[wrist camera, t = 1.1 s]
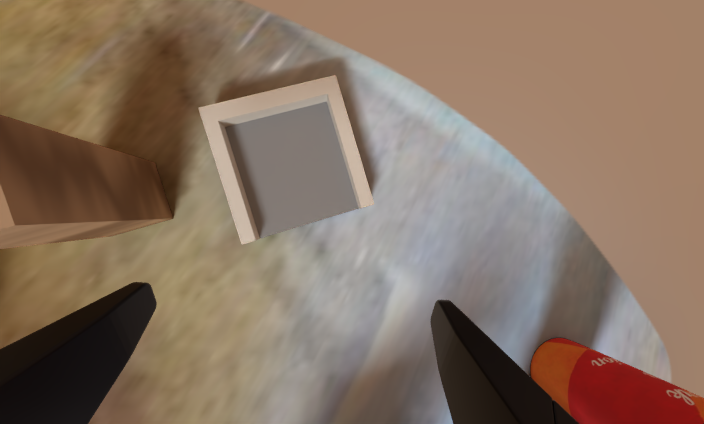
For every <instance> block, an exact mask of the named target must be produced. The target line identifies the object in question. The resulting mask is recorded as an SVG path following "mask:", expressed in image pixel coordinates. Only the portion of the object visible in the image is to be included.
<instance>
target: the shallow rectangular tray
mask: <svg viewBox="0 0 704 424" xmlns="http://www.w3.org/2000/svg"><path fill="white" fill-rule="evenodd" d="M198 109H199V112H200V115H201V118H202V121H203V124H204V128H205V131H206V134H207V137H208V140H209V143H210V146H211V150H212V153H213V156H214V159H215V162H216V165H217V168H218V172H219V175H220V178H221V181H222V184H223V187H224V191H225V194H226V197H227V200H228V203H229V206H230V209H231V213H232V216H233V219H234V222H235V225H236V228H237V231H238V235H239V238H240V241H241V244H245V243H249V242H252V241H255V240H258V239H260V238H263V237H266V236H270V235H273V234H276V233H279V232H283V231H286V230H289V229H293V228H296V227H299V226H302V225H306V224H309V223H312V222H316V221H319V220H322V219H325V218H329V217H332V216H335V215H338V214H342V213H345V212H348V211H352V210H355V209H358V208H363V207H367V206H370V205H373V204H374V202H373V198H372V195H371V192H370V188H369V185H368V181H367V178H366V175H365V171H364V168H363V165H362V161H361V158H360V155H359V151H358V148H357V145H356V141H355V138H354V134H353V131H352V128H351V124H350V121H349V118H348V114H347V111H346V108H345V104H344V101H343V98H342V94H341V91H340V87H339V84H338V81H337V77H336V75H333V76H329V77H324V78H320V79H316V80H312V81H308V82H303V83H299V84H295V85H291V86H287V87H283V88H278V89H274V90H270V91H266V92H262V93H257V94H253V95H249V96H245V97H241V98H237V99H232V100H228V101H224V102H220V103H216V104H211V105H207V106H203V107H199V108H198Z"/></svg>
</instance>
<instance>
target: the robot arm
mask: <svg viewBox="0 0 704 424" xmlns="http://www.w3.org/2000/svg"><path fill="white" fill-rule="evenodd" d="M155 309H156V299H155V296H154V293H153V290H152V287H151V285H150V284H149V283H142V282H134V283H131V284H129V285H127V286H125V287H123V288H121V289H119V290H117V291H115V292H113V293H111V294H109V295H107V296H105V297H103V298H101V299H99V300H97V301H95V302H93V303H91V304H89V305H87V306H85V307H83V308H81V309H79V310H77V311H75V312H73V313H71V314H69V315H67V316H65V317H63V318H61V319H59V320H58V321H56V322H54V323H52V324H50V325H48V326H46V327H44V328H42V329H40V330H38V331H36V332H34V333H32V334H30V335H28V336H26V337H24V338H22V339H20V340H18V341H16V342H14V343H12V344H10V345H8V346H6V347H4V348H2V349H0V424H88V423H89V421H90V420H91V418H92V417H93V415H94V413H95V412H96V410H97V409H98V407H99V406H100V404H101V403H102V401H103V399H104V398H105V396H106V395H107V393H108V392H109V390H110V389H111V387H112V386H113V384H114V382H115V381H116V379H117V378H118V376H119V375H120V373H121V372H122V370H123V368H124V367H125V365H126V364H127V362H128V360H129V359H130V357H131V355H132V353H133V352H134V350H135V348H136V346H137V344H138V342H139V340H140V338H141V336H142V334H143V332H144V330H145V329H146V327H147V325H148V323H149V321H150V319H151V317H152V315H153V313H154V311H155ZM431 328H432V334H433V340H434V346H435V352H436V357H437V363H438V368H439V373H440V377H441V381H442V385H443V388H444V392H445V395H446V399H447V403H448V406H449V410H450V413H451V417H452V420H453V424H579V423H578V422H577V421H576V420H575V419H574V418H573V417H572V416H571V415H570V414H569V413H568V412H566V411H565V410H564V409H563V408H562V407H561V406H560V405H559V404H558V403H557V402H556V401H555V400H552V398H551V396H550V395H549V394H548V393H546V392H545V391H544V390H543V389H542V388H541V387H540V386H539V385H538V384H537V383H536V382H535V381H534V380H533V379H532V378H531V377H530V376H529V375H528V374H527V373H526V372H524V371H523V370H522V369H521V368H520V367H519V366H518V365H517V364H516V363H515V362H514V361H513V360H512V359H511V358H510V357H509V356H508V355H507V354H506V353H505V352H504V351H503V350H501V349H500V348H499V347H498V346H497V345H496V344H495V343H494V342H493V341H492V340H491V339H490V338H489V337H488V336H487V335H486V334H485V333H484V332H483V331H482V330H481V329H479V328H478V327H477V326H476V325H475V324H474V323H473V322H472V321H471V320H470V319H469V318H468V317H467V316H466V315H465V314H464V313H463V312H462V311H461V310H460V309H459V308H458V307H456V306H455V305H454V304H453V303H452V302H451V301H449V300H437V301H436V303H435V306H434V309H433V312H432V316H431Z"/></svg>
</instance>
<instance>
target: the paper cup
mask: <svg viewBox="0 0 704 424" xmlns="http://www.w3.org/2000/svg"><path fill="white" fill-rule="evenodd" d="M530 373H531V378H532V379H533V380H534V381H535V382H536V383H537V384H538V385H539V386H540V387H541V388H542V389H543V390H544V391H545V392H546V393H548V394H549V395H550V396H551V398H552V400H555V401H556V402H557V403H558V404H559V405H560V406H561V407H562V408H563V409H564V410H565V411H566V412H568V413H569V414H570V415H571V416H572V417H573V418H574V419H575V420H576V421H577V422H578V423H579V424H704V398H703V397H700V396H698V395H696V394H694V393H691V392H689V391H687V390H684V389H682V388H680V387H677V386H675V385H673V384H671V383H669V382H666V381H664V380H662V379H659V378H657V377H655V376H653V375H650V374H648V373H646V372H643V371H641V370H639V369H636V368H634V367H632V366H630V365H627V364H625V363H623V362H620V361H618V360H616V359H613V358H611V357H609V356H606V355H604V354H602V353H600V352H597V351H595V350H593V349H590V348H588V347H585V346H583V345H581V344H578V343H576V342H573V341H571V340H568V339H564V338H553V339H550V340H548V341H546V342H544V343H543V344H542V345H540V346H539V348H538V349H537V350H536V352H535V353H534V355H533V358H532V361H531V366H530Z"/></svg>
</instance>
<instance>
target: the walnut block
mask: <svg viewBox="0 0 704 424" xmlns="http://www.w3.org/2000/svg"><path fill="white" fill-rule="evenodd" d="M170 219H173V216H172V213H171V210H170V207H169V204H168V201H167V198H166V195H165V192H164V189H163V186H162V183H161V180H160V177H159V173H158V170H157V167H156V164H155V162H152V161H149V160H145V159H142V158H139V157H136V156H132V155H129V154H126V153H123V152H119V151H116V150H113V149H110V148H106V147H103V146H100V145H97V144H93V143H90V142H87V141H84V140H80V139H77V138H74V137H71V136H67V135H64V134H61V133H58V132H54V131H51V130H48V129H45V128H41V127H38V126H35V125H32V124H28V123H25V122H22V121H19V120H15V119H12V118H9V117H5V116H2V115H0V249H5V248H14V247H22V246H31V245H40V244H48V243H57V242H66V241H74V240H83V239H91V238H100V237H109V236H114V235H117V234H121V233H124V232H128V231H131V230H135V229H138V228H142V227H146V226H149V225H153V224H156V223H160V222H163V221H167V220H170Z"/></svg>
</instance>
